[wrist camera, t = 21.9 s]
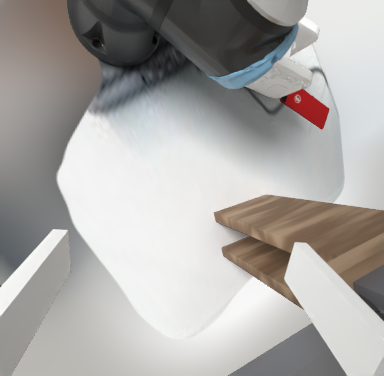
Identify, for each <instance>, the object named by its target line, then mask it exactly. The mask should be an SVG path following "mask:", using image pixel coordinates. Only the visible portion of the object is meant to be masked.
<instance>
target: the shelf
mask: <svg viewBox="0 0 384 376" xmlns="http://www.w3.org/2000/svg"><path fill="white" fill-rule="evenodd" d="M214 215H215V220H216V222H218V223H220V224H223V225H225V226H228V227H230V228H232V229H235V230H237V231H239V232H242V233H244V234H247V235H249V237H247V238H244V239H242V240H239V241H237V242H234V243H232V244H229V245H227V246H224V247H222V252H223V256H224V257H226V258H227V259H229V260H230V261H232V262H233V263H235V264H236V265H238V266H239V267H240V268H242V269H243V270H245V271H246V272H248V273H249V274H251V275H252V276H254V277H256V278H257V279H258V280H260V281H262V282H263V283H265V284H266V285H267V286H269V287H270V288H272V289H274V290H275V291H277V292H278V293H280V294H281V295H283V296H284V297H285V298H287V299H288V300H290V301H291V302H293V303H294V304H296V305H297V306H299V307H300V308H302V309H303V307H302V306H301V304H300V303H299V301H298V300H297V298H296V297H295V295H294V294H293V292H292V291H291V289H290V288H289V286H288V284H287V283H286V281H285V280H284V277H285V274H286V270H287V267H288V263H289V260H290V257H291V253H292V250H293V246H294V243H295V242H300V243H307V244H308V245H309V246H310V247H311V248H312V249H313V250H314V251H315V252H316V253H317V254H318V255H319V256H320V257H321V258H322V259H323V260H324V261H325V262H326V263H327V264H328V265H329V266H330V267H331V268H332V269H333V270H334V271H335V272H336V273H337V274H338V275H339V276H340V277H341V278H342V279H343V280H344V281H345V283H346V284H347V285H348V286H349V287H350V288H351V289H352V290H353V291H354V286H353V282H354V281H356V280H358V279H359V278H361V277H363V276H364V275H366V274H368V273H370V272H371V271H373V270H375V269H376V268H378V267H380V266H381V265H383V264H384V211H383V210H376V209H368V208H361V207H354V206H346V205H339V204H332V203H325V202H317V201H310V200H303V199H295V198H288V197H281V196H273V195H264V196H261V197H258V198H255V199H252V200H249V201H246V202H243V203H241V204H238V205H235V206H232V207H229V208H226V209H223V210H220V211H217V212H214ZM303 310H304V309H303Z"/></svg>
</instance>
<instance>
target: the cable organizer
mask: <svg viewBox="0 0 384 376" xmlns="http://www.w3.org/2000/svg"><path fill="white" fill-rule="evenodd" d="M298 26H299V29H298V33H297V36H296V39H295V41H294V42H293V44H292V46H291V47H290V49H289V50H288V51H287V53H286V54H285V55H284V56H283V57H282V58H281V60H279V61H277V62H275V63H274V65H273V68H272V69H271V70H269V71H268V72H267V73H266V74H265V75H263V76H262V77H261V78H259V79H258V80H256V81H255V82H253V83H251V84H250V85H248V86H245V87H247V88H250V89H252V90H254V91H256V92H258V93H261V94H263V95H265V96H267V97H271V98H281V97H283V96H286V95H288V94H291V93H293V92H296V91H298V90H301V89H304V88H306V87H308V86H310V85H311V82H312V77H313V74H312V72H311V71H310V70H308V69H306V68H304V67H303V66H301V65H299V64H297V63H295V62H293V61H292V60H290V59H289V57H290V56H292V55H294V54H295V53H297V52H299V51H300V50H302V49H304V48H305V47H307V46H309V45H310V44H312V43H314V42H315V41H316V40H317V39H318V35H319V27H318V26H317V25H316V24H315V23H313V22H312V21H310V20H308V19H307V18H306V17H303V18H302V19H301V20H300V21H299V22H298Z"/></svg>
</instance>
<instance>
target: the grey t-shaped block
mask: <svg viewBox="0 0 384 376" xmlns="http://www.w3.org/2000/svg"><path fill="white" fill-rule="evenodd" d="M353 286H354V292H355V293H359V294H361V295H362V296H364V297H365V298H366V299H368V300H369V301H371V302H372V303H373V304H374V305H375V306H376V307H377V308H378V309H379V310H380V311H381V313H383V314H384V264H383V265H381V266H380V267H378V268H376V269H375V270H373V271H371V272H370V273H368V274H366V275H364V276H363V277H361V278H359V279H358V280H356V281H354V282H353ZM228 376H347V375H346V373H345V371H344V370H343V368H342V367H341V365H340V364H339V362H338V361H337V359H336V358H335V356H334V355H333V353H332V352H331V350H330V349H329V347H328V346H327V344H326V342H325V341H324V339H323V338H322V336H321V335H320V333H319V332H318V330H317V329H316V327H315V326H314V324H313V323H312V324H310V325H308V326H307V327H305V328H304V329H302V330H300V331H299V332H297V333H296V334H294V335H292V336H291V337H289V338H288V339H286V340H284V341H283V342H281V343H280V344H278V345H276V346H275V347H273V348H272V349H270V350H268V351H267V352H265V353H264V354H262V355H260V356H259V357H257V358H256V359H254V360H253V361H251V362H249V363H248V364H246V365H244V366H243V367H241V368H240V369H238V370H236V371H235V372H233V373H232V374H230V375H228Z"/></svg>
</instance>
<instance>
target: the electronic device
mask: <svg viewBox="0 0 384 376" xmlns="http://www.w3.org/2000/svg"><path fill="white" fill-rule="evenodd" d="M280 101H281V102H282V103H284V104H285V105H287V106H288V107H290V108H291V109H293V110H294V111H295V112H297V113H298V114H300V115H301V116H303V117H304V118H306V119H307V120H309V121H310V122H312V123H313V124H314V125H316V126H317V127H319V128H320V129H323V128H324V125H325V122H326V119H327V116H328V113H329V108H328V107H326V106H325V105H324V104H322V103H321V102H319V101H318V100H317V99H315V98H314V97H313V96H311V95H310V94H309V93H307V92H306V91H305V90H303V89H301V90H298V91H296V92H293V93H291V94H288V95H286V96H283V97H281V98H280Z"/></svg>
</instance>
